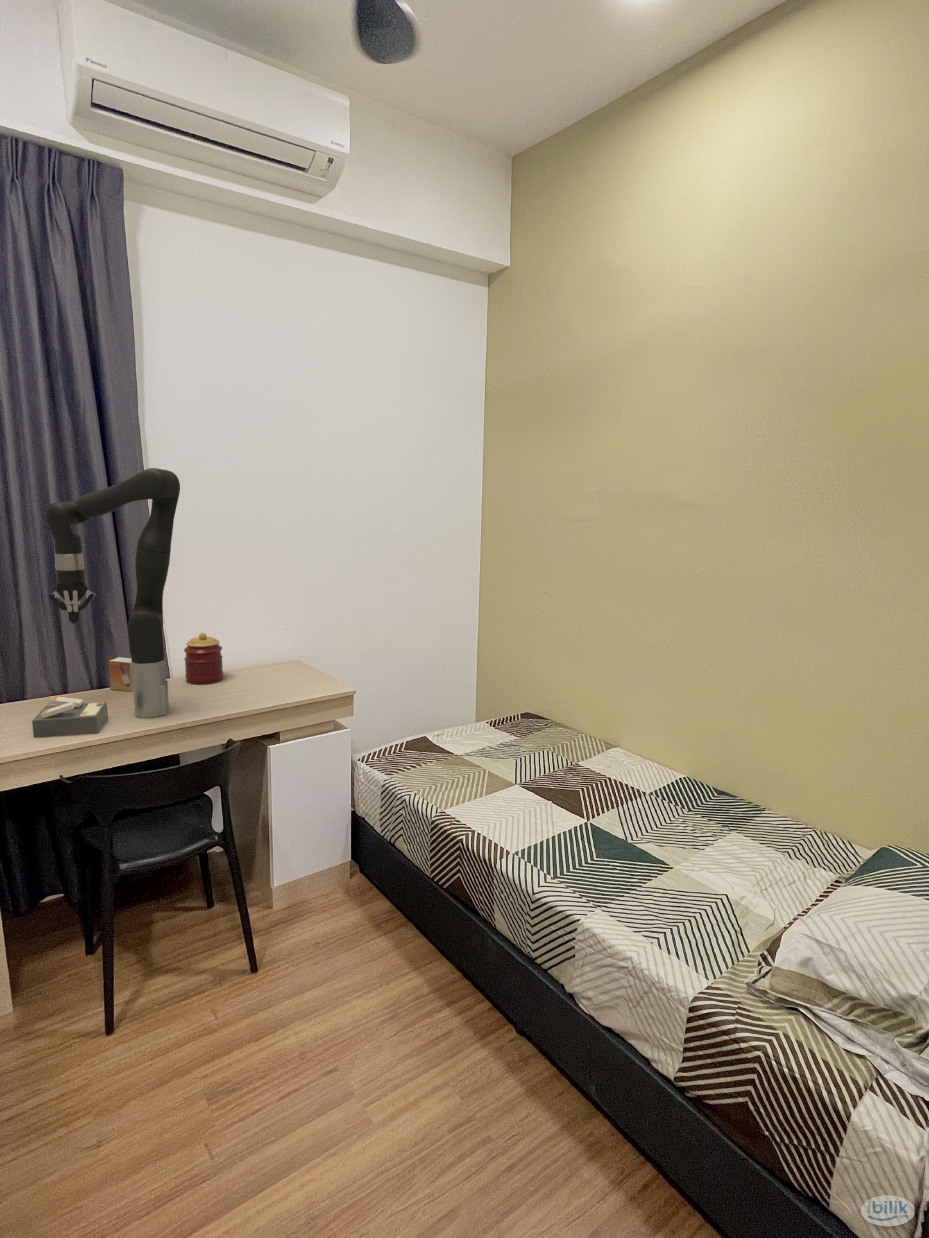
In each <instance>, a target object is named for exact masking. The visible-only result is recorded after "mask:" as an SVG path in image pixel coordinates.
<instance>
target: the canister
mask: <svg viewBox="0 0 929 1238" xmlns="http://www.w3.org/2000/svg"><path fill="white" fill-rule="evenodd" d="M185 645H186V647H184V649H183V651H184V653H185V657H184V661H185V663H184V668H185V674H184V675H185V681H186V682H187V683H189V684H192V685H210V684H216V683H219V682H221V681H222V680H223V678H224V671H223V667H224V666H223V655H222V653H221V652H222V650H223V646H222V645H220V641H219V640H218V639H217V638H215V637H212V636H207V634H206V633H204V632H201V633H199V635H198V637H193V638H191V639H190V640H188V641H186V643H185Z"/></svg>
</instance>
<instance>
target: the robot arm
mask: <svg viewBox="0 0 929 1238" xmlns="http://www.w3.org/2000/svg"><path fill="white" fill-rule="evenodd" d="M180 483H181V482H180V480H179V477H178V476H177V474H175V472H173V471H171V470H167V469H161V468H156V467H153V468H151V467H150V468H146V469H143V470H142V471H140V472H138V473H136V474H135V475H132V476H131V477H129V478H127V479H125V480H123V481H121V482H119V483H116V484H114V485H111V486H107V487H105V488H102V489H99V490H95V491H92V492H88V493H86V494H83V495H81V496H80V497H78V498H77V499H74V500H71V501H56V502H55V501H54V502H51V503H50V504H49V505H48V507H47V508H46V512H45V520H46V523H47V525H48V528H49V531H50V533H51V536H52V538H53V541H54V542H53V543H54V553H55V556H54V557H55V558H54V568H55V575H56V577H55V578H56V588H55V591H54V592H52V593H50V594H49V595H48V598H49V599H50V600H51V601H52V602H53V603H54V604H55V605H56V606H57V607H58V608H59V609H60V610H62V611H66V612H67V614H68V621H69V622H71V625H73V624H76V625H77V624H78V623H79V622H81V611H83V610H85V609H86V608H87V607H88V605H89V604H91V602H92V600H93V599H94V598H95V597H96V592H93V591H91V590H89V587H88V586H87V584H86V573H85V563H84V562H85V561H84V560H85V559H84V557H83V548H82V539H81V536H80V535H79V534H76V533H74V532H73V530H72V527H71V526H75V525H79V524H82V523H86V522H87V521H89V520H91V519H93V518H97V517H100V516H103V515H108V514H109V513H113V512H114V511H116V510H119V509H120V508H121V507H123V506H125V505H127V504H129V503H132V502H133V503H134V502H137V501H143V500H151V510H150V514H149V517H148V521H147V522H146V525H145V526H144V528H143V529H142V532H141V533H140V535H139V538H138V540H137V542H136V543H137V545H136V553H135V579H136V597H135V602H134V607H133V610H132V614H131V616H130V618H129V619H128V622H127V623H128V624H127V634H128V645H129V647H128V648H129V653H130V654H129V655H130V658H131V661H132V675H133V690H134V691H133V699H134V700H133V702H134V715H135V716H136V717H137V718H142V719H145V718H146V719H147V718H148V719H149V718H157V717H162V716H167V715H168V711H169V710H170V705H169V704H170V703H169V691H168V690H169V688H168V680H167V678H166V677H167V676H166V675H167V674H166V659H165V657H166V656H165V655H166V654H165V648H164V637H163V625H164V615H163V614H164V612H163V610H164V609H163V604H164V603H163V602H164V601H163V600H164V599H163V598H164V591H165V586H166V583H167V578H168V572H169V566H170V559H171V547H172V538H173V531H174V521H175V520H174V519H175V515H176V510H177V506H178V502H179V498H180V492H181V484H180ZM84 596H85V598H86V599H85V600H84V601H83V602H82V604H81V600H82V599H83V598H84ZM60 597H61V598H62V599H63V600H64V601H62V599H61V598H60ZM64 602H65V603H64Z"/></svg>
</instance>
